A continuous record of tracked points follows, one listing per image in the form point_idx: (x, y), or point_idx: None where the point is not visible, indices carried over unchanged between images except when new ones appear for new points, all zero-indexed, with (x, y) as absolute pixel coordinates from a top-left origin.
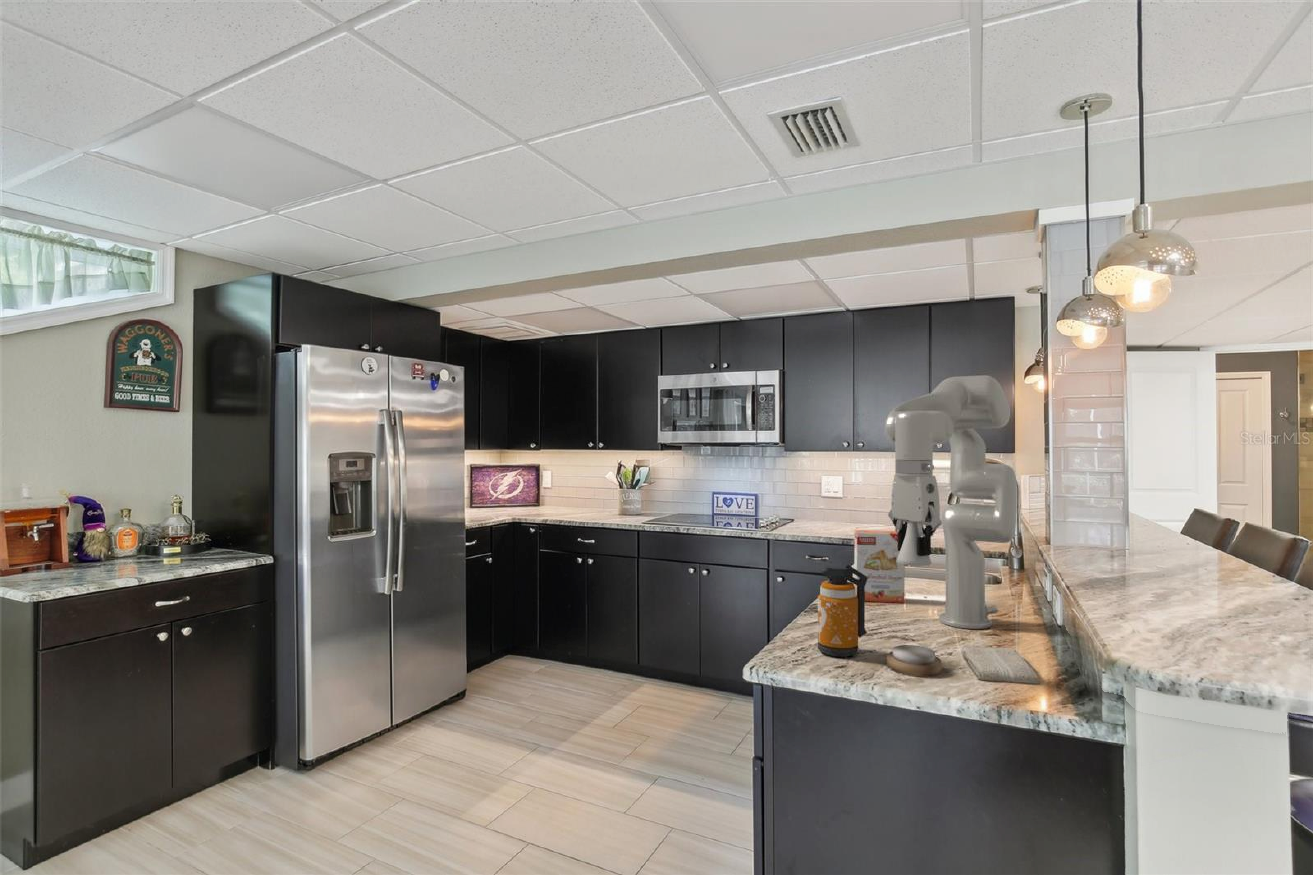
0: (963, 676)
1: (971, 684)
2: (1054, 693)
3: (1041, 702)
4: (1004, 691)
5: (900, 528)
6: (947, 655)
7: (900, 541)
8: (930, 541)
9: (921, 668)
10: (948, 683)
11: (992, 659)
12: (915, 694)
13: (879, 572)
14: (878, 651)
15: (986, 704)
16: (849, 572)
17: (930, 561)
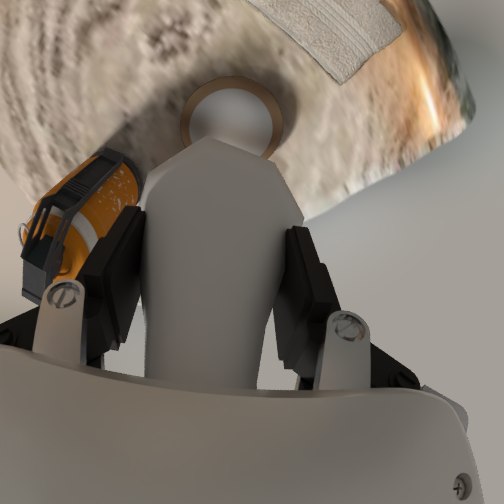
0: (310, 86)
1: (339, 110)
2: (425, 54)
3: (428, 102)
4: (383, 99)
5: (102, 366)
6: (218, 12)
7: (134, 307)
8: (323, 277)
9: (272, 153)
10: (314, 137)
11: (323, 12)
12: (310, 214)
13: None
14: (133, 113)
15: (388, 167)
16: (51, 262)
17: (279, 180)
